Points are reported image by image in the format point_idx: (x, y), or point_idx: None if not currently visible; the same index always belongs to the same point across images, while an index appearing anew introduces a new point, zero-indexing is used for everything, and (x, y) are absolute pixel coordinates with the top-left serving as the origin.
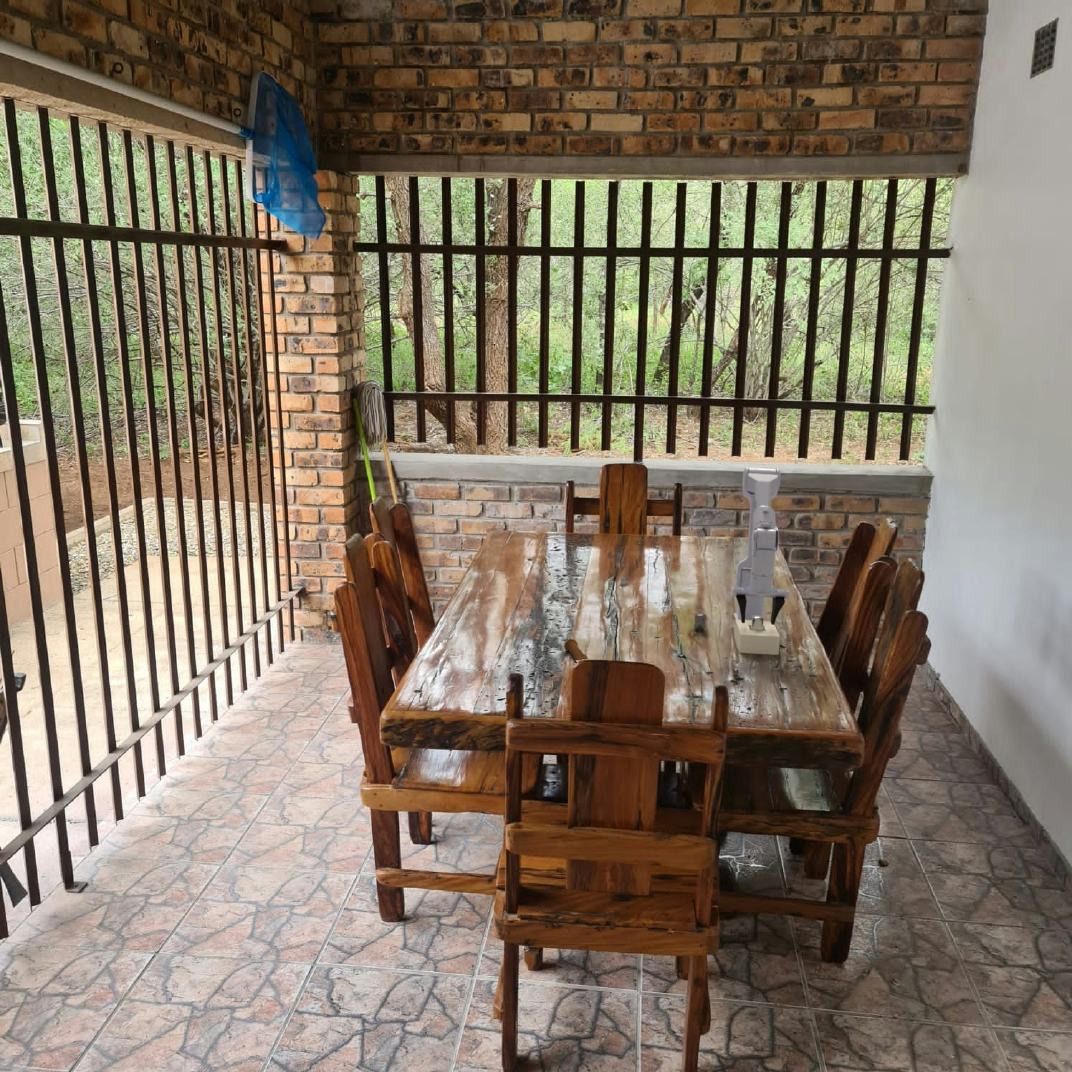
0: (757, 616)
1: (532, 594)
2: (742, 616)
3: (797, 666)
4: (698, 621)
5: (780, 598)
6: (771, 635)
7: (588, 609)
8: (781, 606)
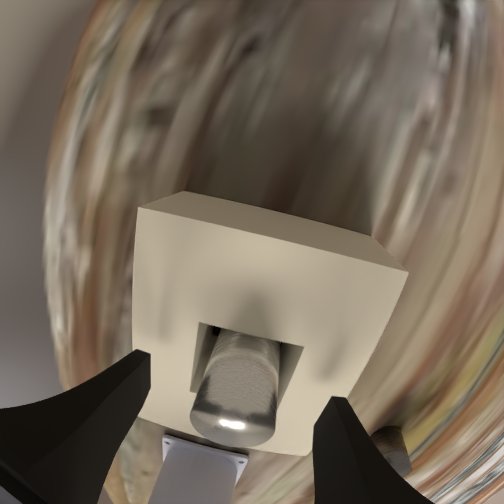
0: (230, 434)
1: (497, 479)
2: (363, 429)
3: (151, 55)
4: (405, 452)
5: (8, 480)
6: (189, 236)
7: (489, 465)
8: (13, 411)
